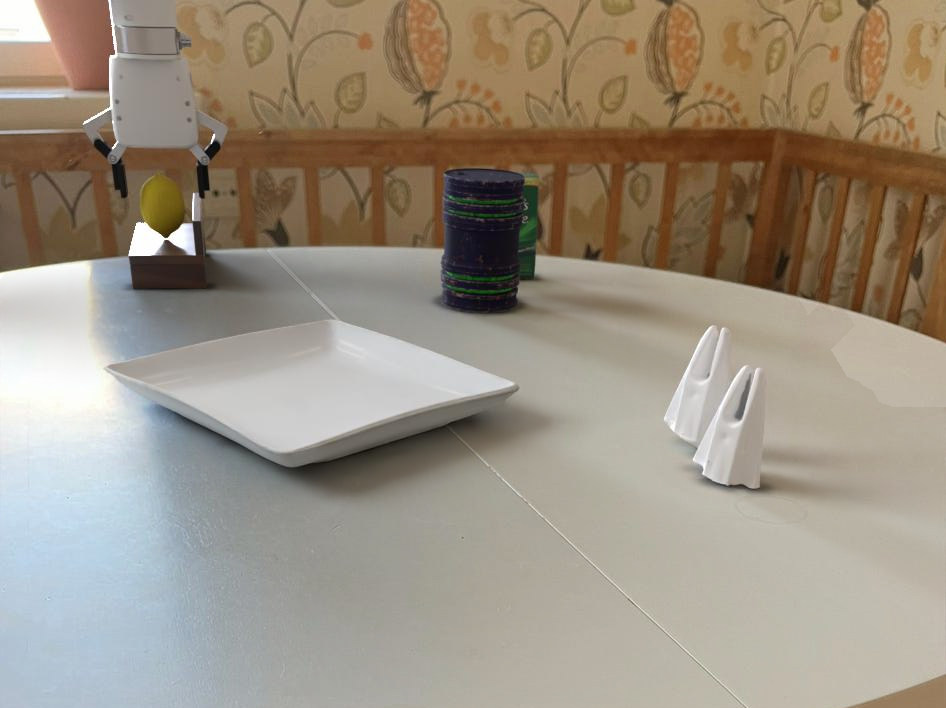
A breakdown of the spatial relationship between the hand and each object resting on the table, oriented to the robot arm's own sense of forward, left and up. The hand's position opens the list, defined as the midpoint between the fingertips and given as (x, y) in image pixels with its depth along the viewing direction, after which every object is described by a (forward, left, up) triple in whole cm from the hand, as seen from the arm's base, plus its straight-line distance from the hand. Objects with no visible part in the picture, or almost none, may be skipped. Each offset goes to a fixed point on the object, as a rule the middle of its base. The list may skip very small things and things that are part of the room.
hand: (163, 196), depth 135 cm
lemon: (0, 0, -5) cm, 5 cm away
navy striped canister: (+40, +14, -9) cm, 43 cm away
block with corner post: (0, 0, -9) cm, 9 cm away
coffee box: (+35, +28, -9) cm, 46 cm away
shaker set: (+84, -17, -9) cm, 86 cm away
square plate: (+50, -29, -9) cm, 58 cm away
